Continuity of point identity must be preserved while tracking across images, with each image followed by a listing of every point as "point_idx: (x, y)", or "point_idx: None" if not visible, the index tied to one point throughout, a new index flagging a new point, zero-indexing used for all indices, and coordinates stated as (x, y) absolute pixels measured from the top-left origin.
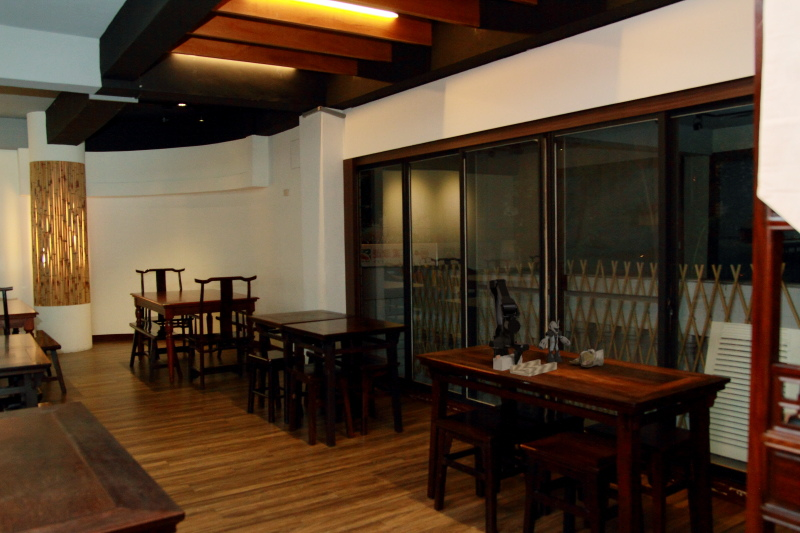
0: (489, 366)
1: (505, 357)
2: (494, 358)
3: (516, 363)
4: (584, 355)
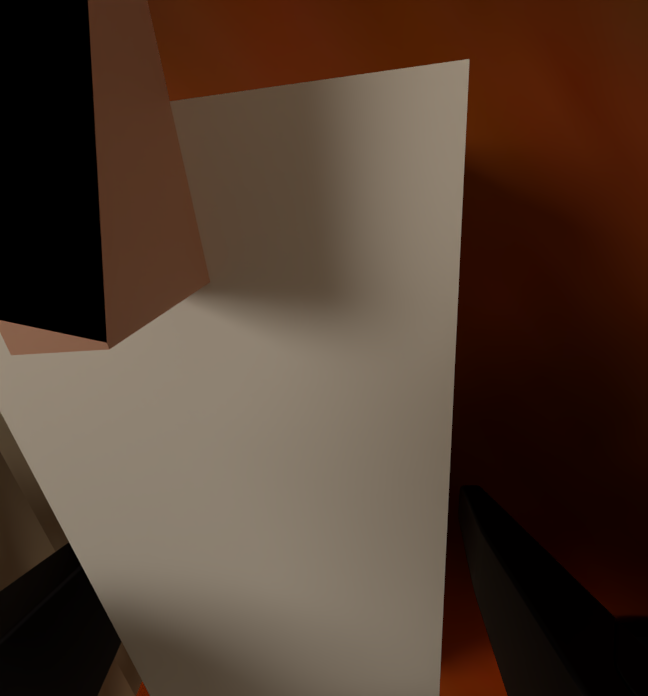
0: (639, 285)
1: (213, 547)
2: (371, 76)
3: None
4: None
